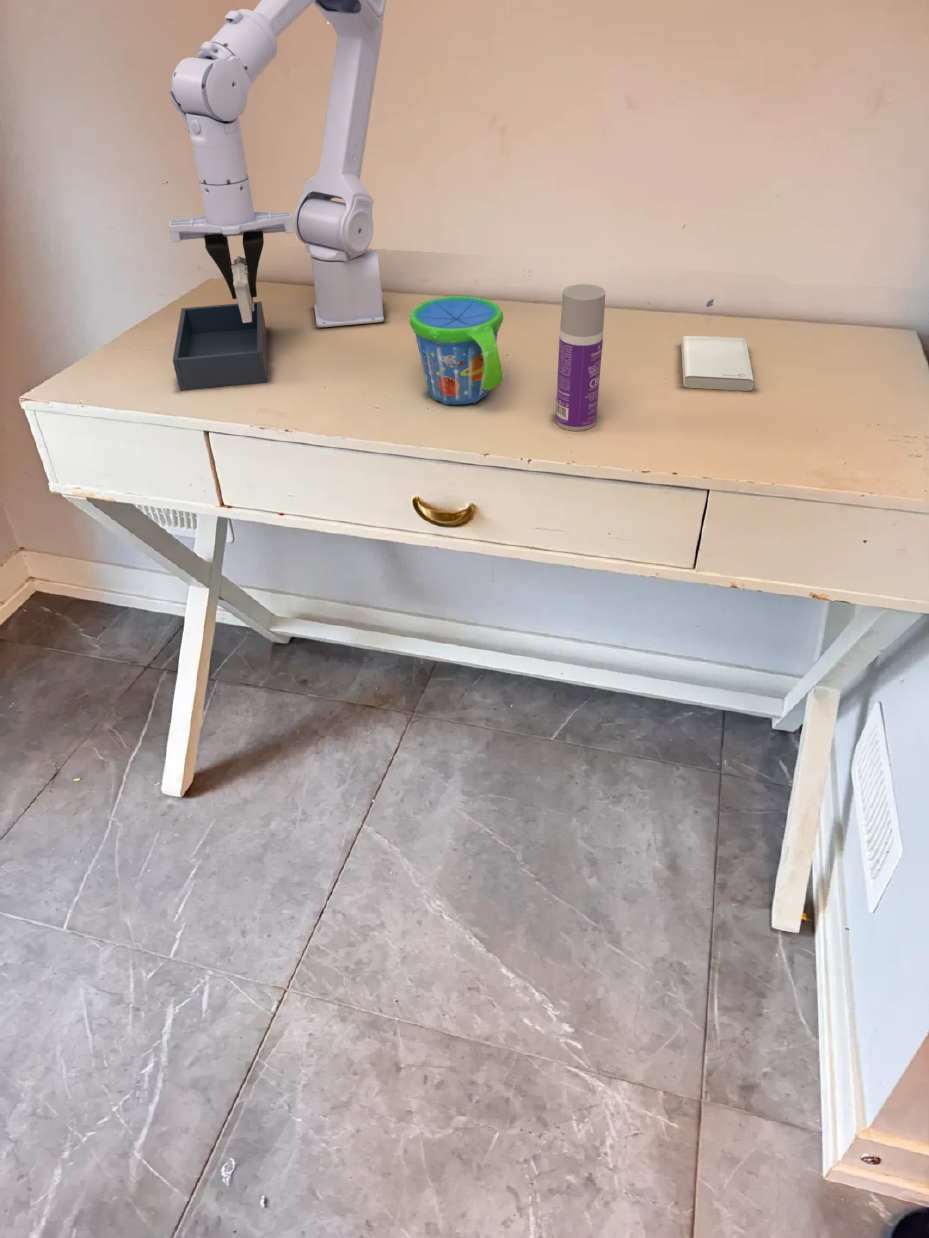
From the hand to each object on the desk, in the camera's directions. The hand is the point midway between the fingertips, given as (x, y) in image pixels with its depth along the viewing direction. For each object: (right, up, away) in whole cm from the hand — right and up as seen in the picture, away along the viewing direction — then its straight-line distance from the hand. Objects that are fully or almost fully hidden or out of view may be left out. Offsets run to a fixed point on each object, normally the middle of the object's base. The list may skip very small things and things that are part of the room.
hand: (244, 295), depth 113 cm
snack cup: (+27, -13, -3) cm, 30 cm away
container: (+41, -18, -10) cm, 46 cm away
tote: (-4, -6, +6) cm, 9 cm away
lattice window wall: (0, -1, +1) cm, 2 cm away
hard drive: (+60, -9, +1) cm, 60 cm away
